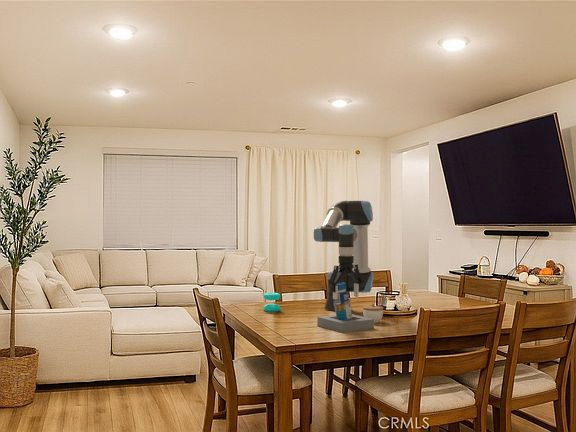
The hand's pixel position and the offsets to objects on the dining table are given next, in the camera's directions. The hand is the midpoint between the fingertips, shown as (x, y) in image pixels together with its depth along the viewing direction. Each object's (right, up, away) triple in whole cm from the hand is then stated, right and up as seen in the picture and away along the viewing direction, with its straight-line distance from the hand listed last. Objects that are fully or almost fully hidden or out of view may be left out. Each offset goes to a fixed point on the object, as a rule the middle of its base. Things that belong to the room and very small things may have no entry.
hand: (345, 297), depth 302 cm
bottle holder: (0, -15, 0) cm, 15 cm away
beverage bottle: (0, -13, +1) cm, 13 cm away
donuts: (-38, -14, +49) cm, 64 cm away
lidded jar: (+16, -15, +15) cm, 27 cm away
